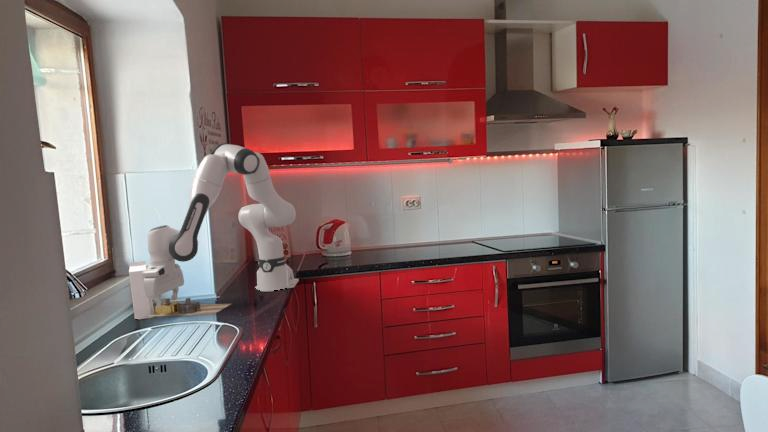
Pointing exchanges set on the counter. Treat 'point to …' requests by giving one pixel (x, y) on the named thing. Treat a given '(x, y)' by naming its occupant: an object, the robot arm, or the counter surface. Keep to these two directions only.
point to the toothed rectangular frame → (167, 308)
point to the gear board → (202, 310)
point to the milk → (139, 291)
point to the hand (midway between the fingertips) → (167, 302)
